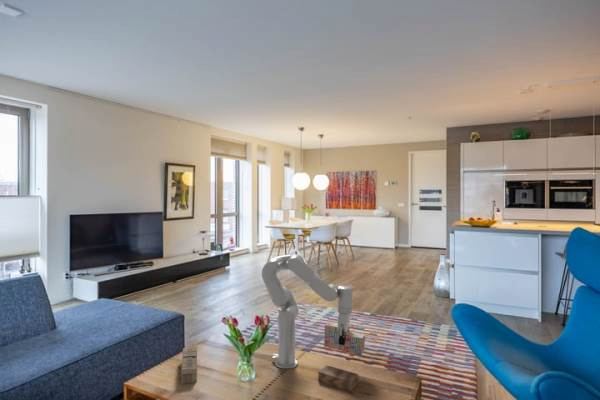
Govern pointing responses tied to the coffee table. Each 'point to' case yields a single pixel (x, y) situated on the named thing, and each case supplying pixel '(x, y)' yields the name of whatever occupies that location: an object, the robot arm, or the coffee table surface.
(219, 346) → the coffee table surface
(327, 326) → the stack of blocks
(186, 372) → the block tower
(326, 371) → the walnut block
